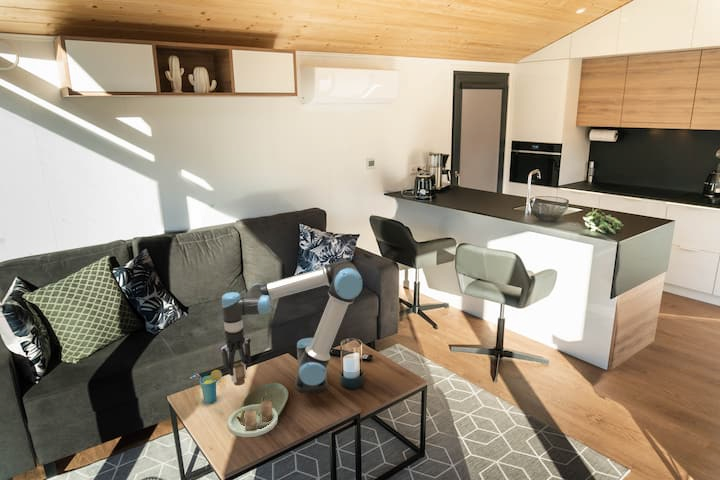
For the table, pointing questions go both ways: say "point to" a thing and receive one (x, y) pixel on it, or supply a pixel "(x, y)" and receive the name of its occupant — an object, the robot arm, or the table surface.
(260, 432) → the tray
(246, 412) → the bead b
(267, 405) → the brown rounded cylinder
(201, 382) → the cup
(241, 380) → the brown stubby piece
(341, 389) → the table surface
